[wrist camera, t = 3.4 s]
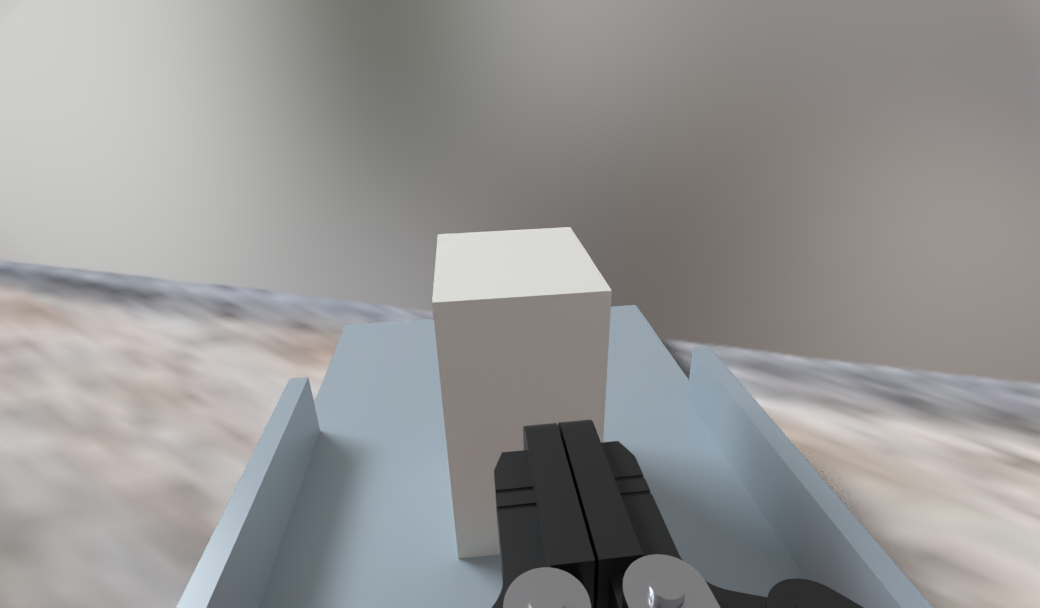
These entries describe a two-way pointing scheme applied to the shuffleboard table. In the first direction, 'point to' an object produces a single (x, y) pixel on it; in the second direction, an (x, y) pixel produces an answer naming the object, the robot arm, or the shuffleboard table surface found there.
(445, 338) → the cream block
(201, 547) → the shuffleboard table surface
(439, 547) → the trough
